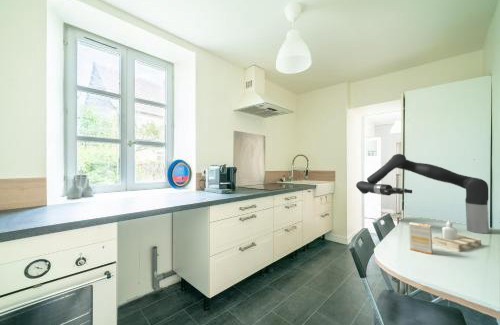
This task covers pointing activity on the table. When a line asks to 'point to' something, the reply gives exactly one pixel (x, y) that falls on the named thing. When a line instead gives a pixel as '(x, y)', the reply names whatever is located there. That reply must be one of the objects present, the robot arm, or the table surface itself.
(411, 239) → the supplement box
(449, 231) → the eye dropper bottle
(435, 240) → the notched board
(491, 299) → the table surface
